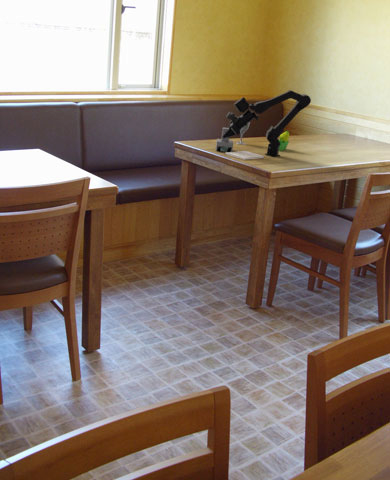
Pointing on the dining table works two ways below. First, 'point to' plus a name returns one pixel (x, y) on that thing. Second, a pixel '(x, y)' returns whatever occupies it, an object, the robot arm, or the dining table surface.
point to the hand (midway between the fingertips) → (222, 136)
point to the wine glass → (243, 133)
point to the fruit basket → (283, 140)
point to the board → (244, 155)
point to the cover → (224, 141)
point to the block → (224, 149)
